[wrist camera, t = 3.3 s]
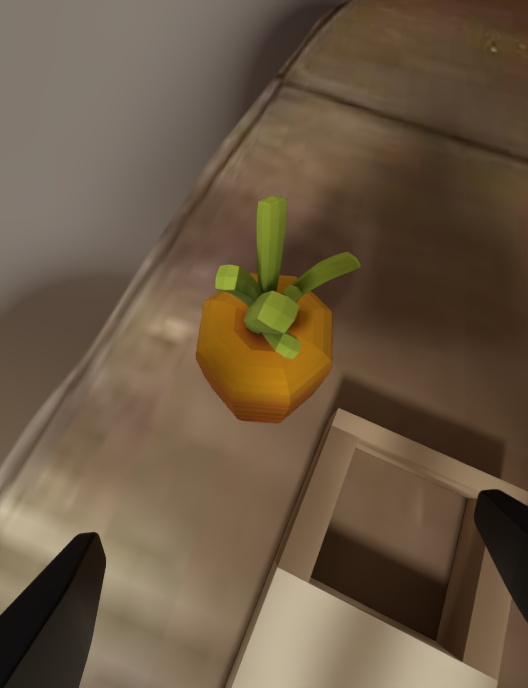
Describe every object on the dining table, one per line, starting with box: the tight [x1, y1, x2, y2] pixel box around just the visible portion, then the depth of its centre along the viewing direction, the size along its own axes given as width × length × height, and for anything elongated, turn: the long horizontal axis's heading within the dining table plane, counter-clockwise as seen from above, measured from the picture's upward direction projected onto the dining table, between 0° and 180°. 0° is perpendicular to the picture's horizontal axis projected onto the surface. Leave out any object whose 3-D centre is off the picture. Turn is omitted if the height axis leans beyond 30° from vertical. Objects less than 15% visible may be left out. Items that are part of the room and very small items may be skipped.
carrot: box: [196, 196, 361, 424], centre depth 15 cm, size 5×5×15 cm
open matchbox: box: [225, 408, 528, 688], centre depth 17 cm, size 10×18×2 cm, turn 155°
